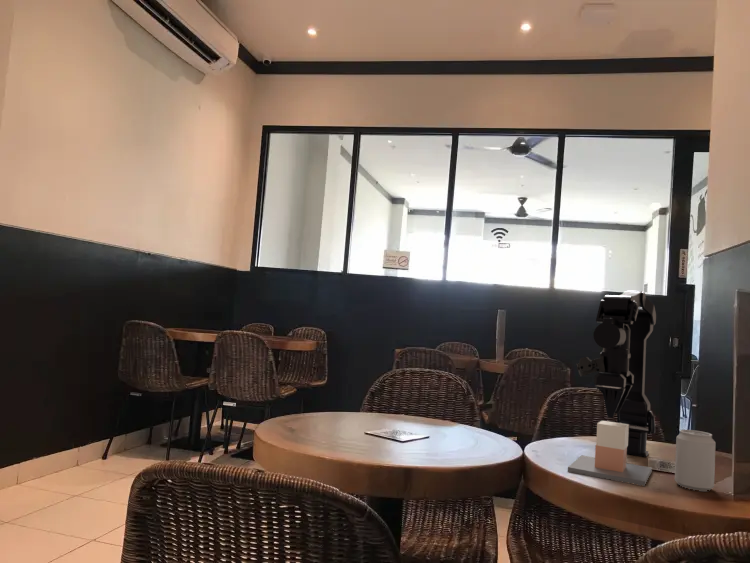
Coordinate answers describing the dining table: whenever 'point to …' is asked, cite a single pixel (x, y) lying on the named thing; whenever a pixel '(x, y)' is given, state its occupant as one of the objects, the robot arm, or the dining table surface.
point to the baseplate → (611, 471)
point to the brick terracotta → (610, 458)
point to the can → (695, 460)
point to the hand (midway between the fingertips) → (613, 415)
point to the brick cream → (612, 435)
